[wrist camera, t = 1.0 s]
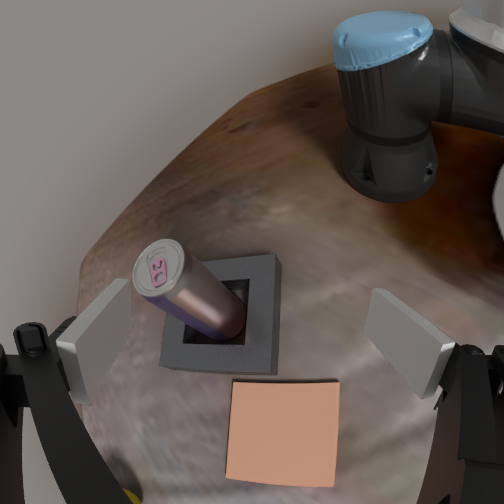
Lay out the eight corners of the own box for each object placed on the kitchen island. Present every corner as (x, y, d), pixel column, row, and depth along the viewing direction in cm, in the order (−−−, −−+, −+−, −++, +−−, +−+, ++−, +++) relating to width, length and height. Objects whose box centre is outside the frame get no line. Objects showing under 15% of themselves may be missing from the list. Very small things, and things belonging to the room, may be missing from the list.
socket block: (186, 273, 43) (176, 264, 40) (281, 264, 38) (275, 253, 36) (172, 369, 36) (159, 365, 33) (277, 375, 31) (270, 372, 29)
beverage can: (211, 348, 36) (133, 308, 24) (200, 308, 39) (129, 254, 27) (254, 331, 35) (191, 280, 23) (240, 290, 38) (180, 225, 26)
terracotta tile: (235, 382, 33) (233, 382, 32) (339, 382, 29) (339, 382, 28) (227, 476, 27) (225, 477, 26) (334, 485, 23) (333, 486, 22)
